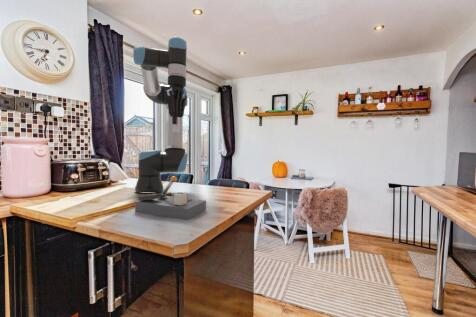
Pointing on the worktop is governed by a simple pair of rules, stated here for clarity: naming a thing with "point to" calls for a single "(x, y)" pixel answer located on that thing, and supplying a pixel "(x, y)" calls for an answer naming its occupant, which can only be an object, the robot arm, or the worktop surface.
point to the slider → (180, 198)
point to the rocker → (149, 196)
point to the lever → (168, 186)
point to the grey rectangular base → (171, 207)
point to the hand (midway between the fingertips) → (176, 132)
